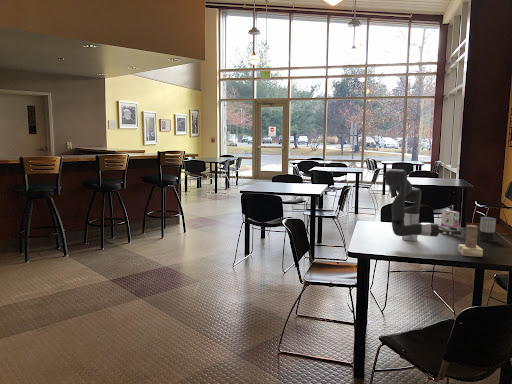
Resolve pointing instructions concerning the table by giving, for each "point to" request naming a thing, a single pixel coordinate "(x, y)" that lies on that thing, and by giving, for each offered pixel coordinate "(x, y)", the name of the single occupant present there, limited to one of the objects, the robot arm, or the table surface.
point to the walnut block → (471, 236)
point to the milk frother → (487, 229)
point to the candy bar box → (450, 219)
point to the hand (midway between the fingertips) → (459, 231)
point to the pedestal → (470, 251)
